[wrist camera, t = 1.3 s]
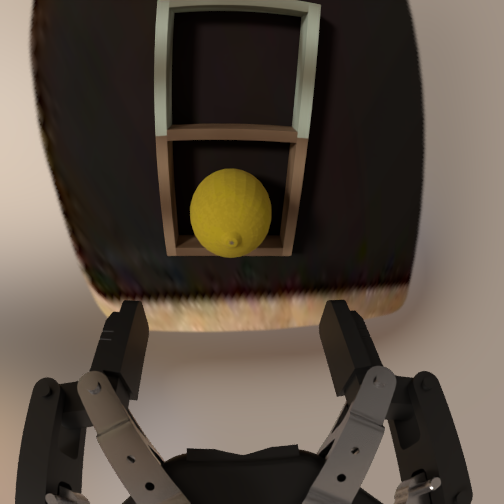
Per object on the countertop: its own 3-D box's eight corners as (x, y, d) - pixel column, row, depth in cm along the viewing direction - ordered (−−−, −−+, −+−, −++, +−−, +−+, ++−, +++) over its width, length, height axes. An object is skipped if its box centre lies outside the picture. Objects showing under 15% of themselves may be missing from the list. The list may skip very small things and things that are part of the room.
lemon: (278, 182, 23) (299, 235, 16) (235, 228, 25) (239, 293, 19) (224, 141, 20) (222, 179, 14) (182, 194, 23) (165, 251, 16)
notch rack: (164, 5, 13) (157, -1, 12) (312, 9, 14) (320, 4, 13) (170, 242, 25) (167, 255, 24) (287, 242, 26) (291, 255, 25)
